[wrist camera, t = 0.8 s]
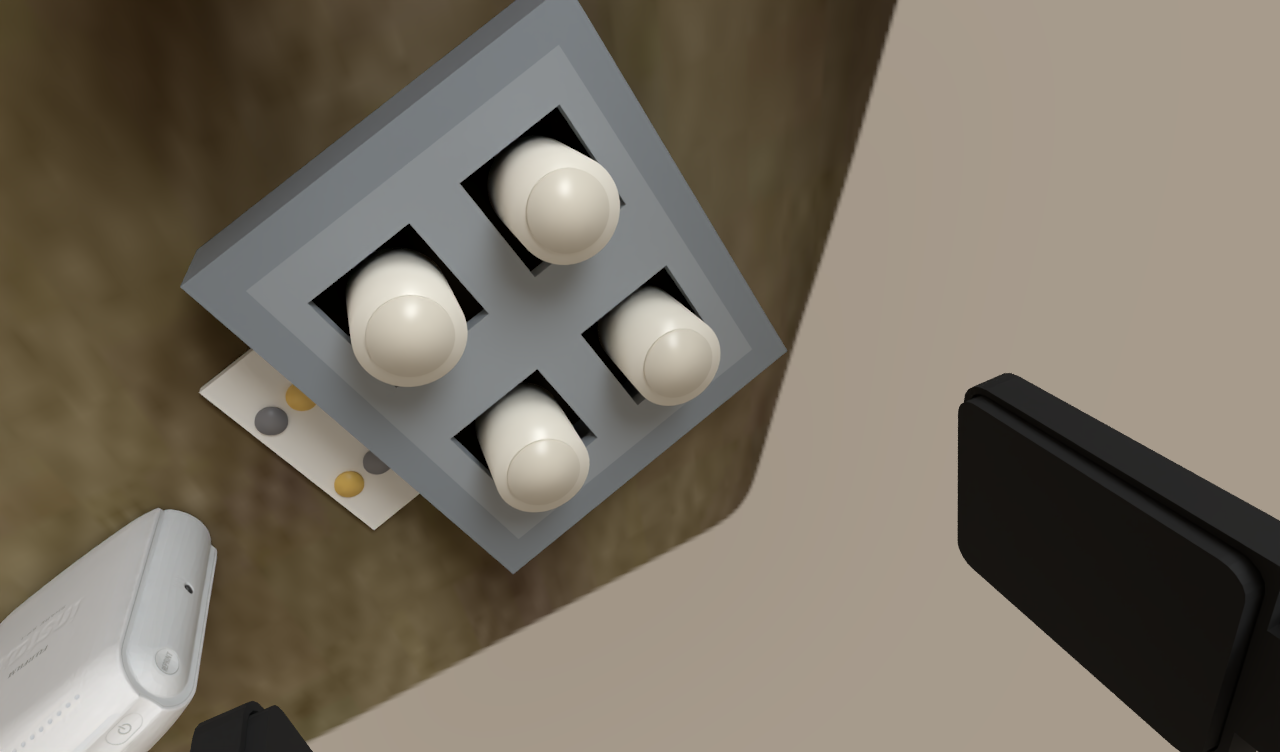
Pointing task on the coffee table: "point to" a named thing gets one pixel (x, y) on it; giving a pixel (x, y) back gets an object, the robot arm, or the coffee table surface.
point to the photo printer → (110, 642)
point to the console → (487, 271)
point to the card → (308, 438)
